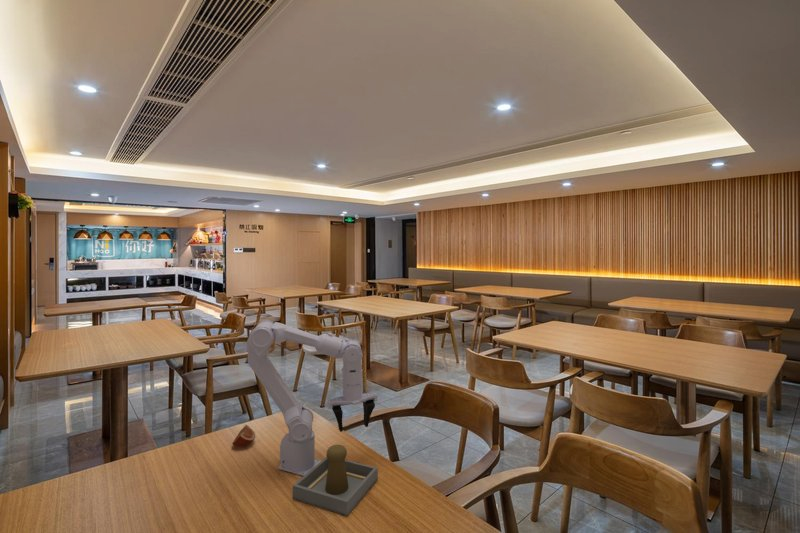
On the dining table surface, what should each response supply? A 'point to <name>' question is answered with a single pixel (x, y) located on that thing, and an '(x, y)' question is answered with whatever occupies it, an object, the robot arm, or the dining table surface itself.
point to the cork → (336, 470)
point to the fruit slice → (244, 437)
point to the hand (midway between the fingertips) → (353, 427)
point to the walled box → (315, 494)
